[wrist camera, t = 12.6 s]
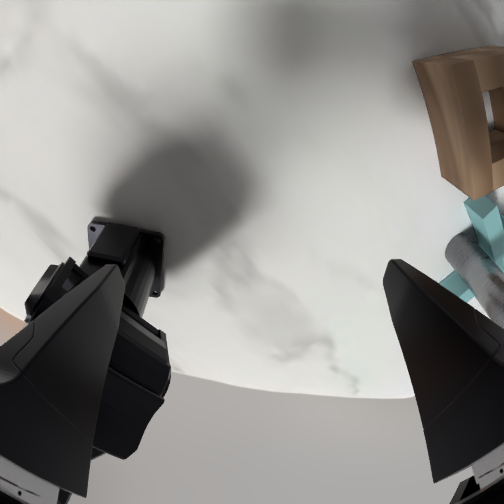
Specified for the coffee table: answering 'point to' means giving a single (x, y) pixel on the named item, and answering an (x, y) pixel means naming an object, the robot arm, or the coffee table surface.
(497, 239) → the teal y-shaped block
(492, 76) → the brown square frame
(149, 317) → the coffee table surface
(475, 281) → the axle
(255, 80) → the coffee table surface
